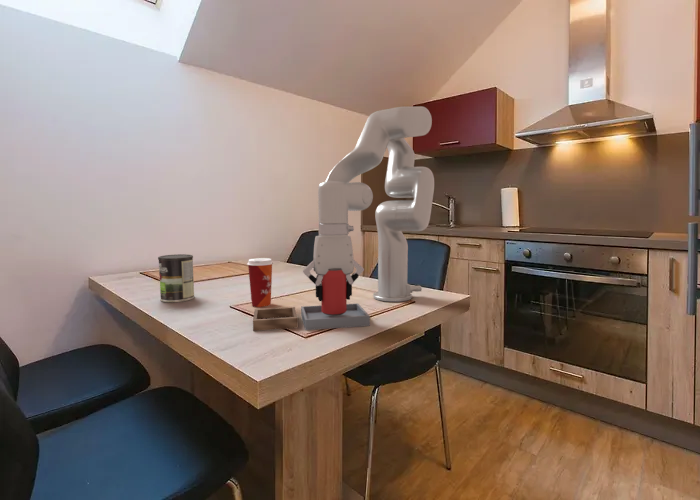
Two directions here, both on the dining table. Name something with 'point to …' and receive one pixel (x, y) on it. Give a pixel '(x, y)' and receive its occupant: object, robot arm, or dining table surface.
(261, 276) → the paper cup
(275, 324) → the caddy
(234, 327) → the dining table surface
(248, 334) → the dining table surface
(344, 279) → the beer can
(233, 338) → the dining table surface
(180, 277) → the coffee can
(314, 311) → the tray
